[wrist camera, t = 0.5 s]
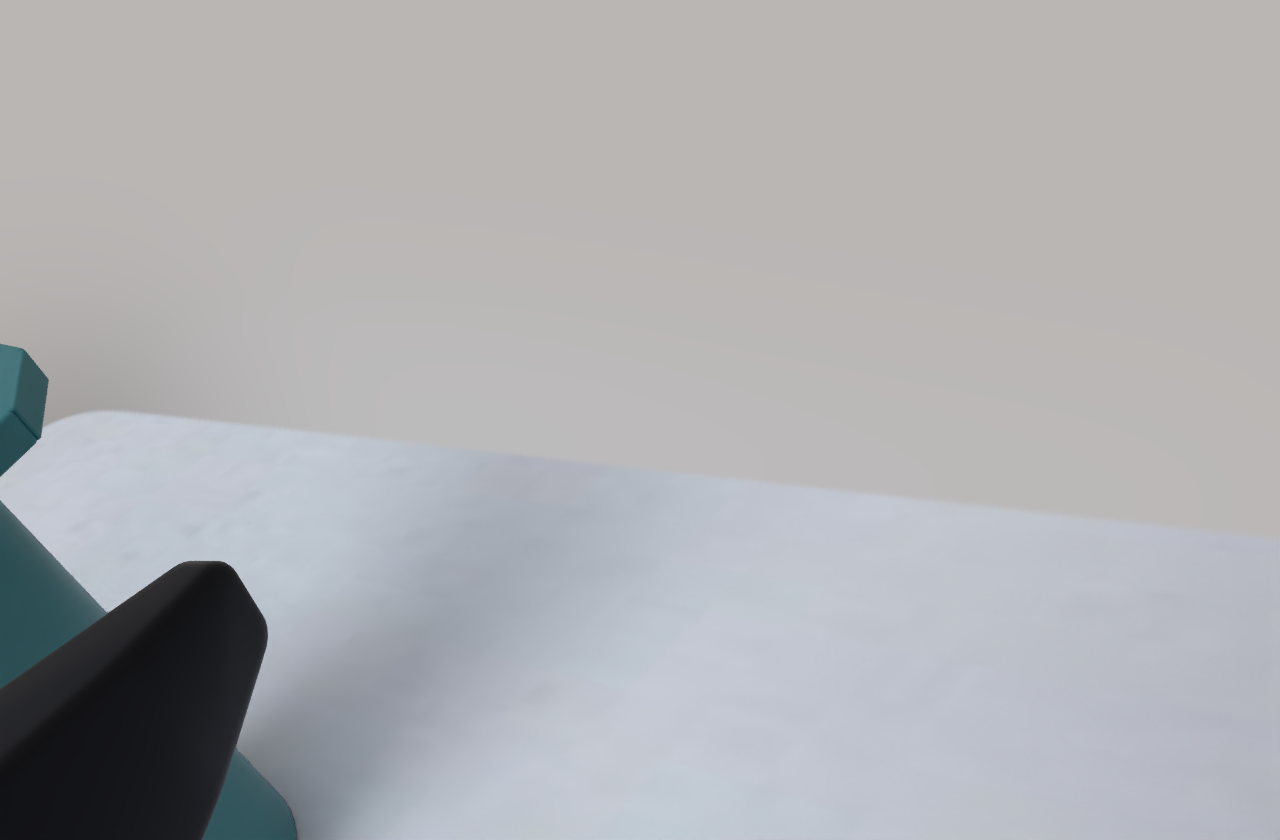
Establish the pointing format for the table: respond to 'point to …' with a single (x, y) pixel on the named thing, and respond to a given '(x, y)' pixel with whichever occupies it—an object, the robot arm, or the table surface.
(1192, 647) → the table surface
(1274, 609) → the table surface
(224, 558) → the table surface
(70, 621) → the jug
